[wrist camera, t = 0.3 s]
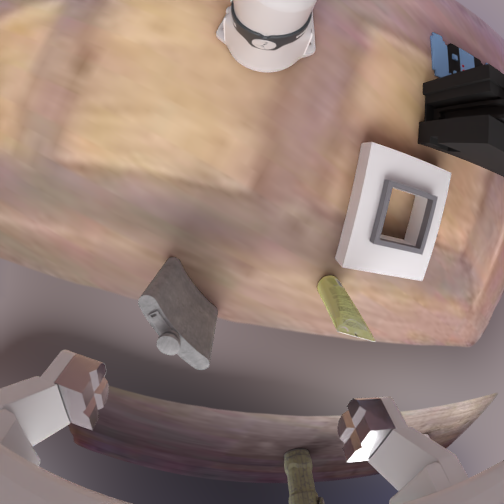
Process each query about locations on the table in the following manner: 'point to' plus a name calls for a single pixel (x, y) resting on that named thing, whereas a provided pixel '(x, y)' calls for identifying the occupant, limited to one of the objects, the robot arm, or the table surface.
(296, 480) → the thermos
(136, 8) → the table surface
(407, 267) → the white box with hole
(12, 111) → the table surface
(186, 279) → the hip flask
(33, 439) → the robot arm
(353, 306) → the tube
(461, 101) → the game console
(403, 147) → the table surface
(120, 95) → the table surface
